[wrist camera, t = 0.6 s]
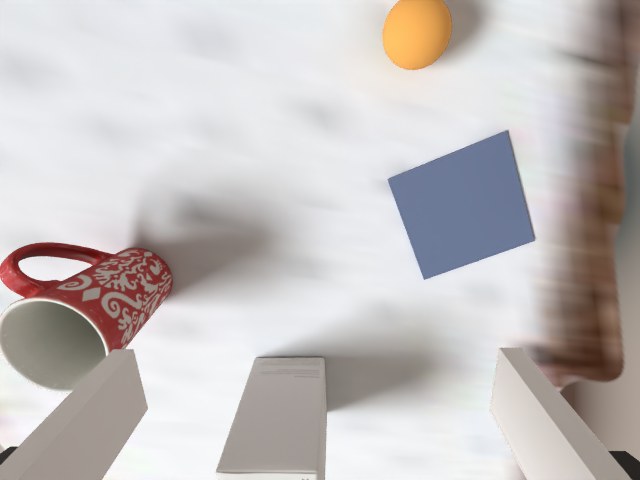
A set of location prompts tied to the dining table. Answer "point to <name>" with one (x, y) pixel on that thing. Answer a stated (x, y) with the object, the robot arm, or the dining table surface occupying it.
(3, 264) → the mug
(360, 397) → the dining table surface
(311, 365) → the supplement box
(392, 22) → the ball
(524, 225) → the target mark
